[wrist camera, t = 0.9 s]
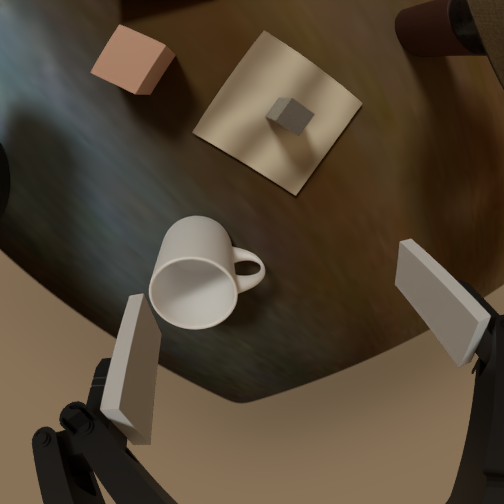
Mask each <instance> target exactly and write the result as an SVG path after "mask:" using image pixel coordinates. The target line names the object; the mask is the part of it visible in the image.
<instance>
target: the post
mask: <svg viewBox="0 0 504 504" xmlns="http://www.w3.org/2000/svg"><path fill="white" fill-rule="evenodd" d="M314 115H315V114H314V113H313V112H311V111H310V110H308V109H307V108H306V107H304V106H303V105H302V104H300V103H299V102H297V101H296V100H295V99H293V98H278V99H277V100H276V102H275V103H274V105H273V106H272V107H271V109H270V110H269V112H268V113H267V114H266V116H265V117H267V118H268V119H270V120H271V121H273V122H274V123H276V124H277V125H279V126H280V127H282V128H283V129H285V130H287V131H289V132H291V133H293V134H295V135H297V136H300V134H301V133H302V132H303V130H304V129H305V128H306V126H307V125H308V123H309V122H310V121H311V119H312V118H313V116H314Z"/></svg>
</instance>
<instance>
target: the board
mask: <svg viewBox="0 0 504 504" xmlns="http://www.w3.org/2000/svg"><path fill="white" fill-rule="evenodd" d="M278 98H293V99H295V100H296V101H297V102H299V103H300V104H302V105H303V106H304V107H306V108H307V109H308V110H310V111H311V112H313V113H314V114H315V115H314V116H313V118H312V119H311V121H310V122H309V123H308V125H307V126H306V128H305V129H304V130H303V132H302V133H301V134H300V136H297V135H295V134H293V133H291V132H289V131H287V130H285V129H283V128H282V127H280V126H279V125H277V124H276V123H274V122H273V121H271V120H270V119H268V118H267V117H265V116H266V114H267V113H268V112H269V110H270V109H271V107H272V106H273V105H274V103H275V102H276V100H277V99H278ZM361 105H362V102H361V101H359V100H358V99H357V98H356V97H355V96H354V95H352V94H351V93H350V92H349V91H348V90H346V89H345V88H344V87H343V86H342V85H340V84H339V83H338V82H337V81H335V80H334V79H333V78H331V77H330V76H329V75H328V74H326V73H325V72H324V71H322V70H321V69H320V68H318V67H317V66H316V65H314V64H313V63H312V62H310V61H309V60H308V59H306V58H305V57H303V56H302V55H301V54H299V53H298V52H296V51H295V50H293V49H292V48H290V47H289V46H287V45H286V44H284V43H283V42H281V41H280V40H278V39H277V38H275V37H274V36H272V35H270V34H269V33H267V32H266V31H263V32H262V34H261V35H260V36H259V38H258V39H257V40H256V41H255V43H254V44H253V45H252V47H251V48H250V49H249V51H248V52H247V53H246V55H245V56H244V57H243V59H242V60H241V61H240V63H239V64H238V65H237V67H236V68H235V70H234V71H233V72H232V74H231V75H230V77H229V78H228V79H227V81H226V82H225V84H224V85H223V87H222V88H221V89H220V91H219V92H218V94H217V95H216V97H215V98H214V100H213V101H212V103H211V104H210V106H209V107H208V109H207V110H206V112H205V113H204V115H203V117H202V118H201V120H200V121H199V123H198V124H197V126H196V128H195V129H194V131H193V132H192V133H194V134H195V135H197V136H199V137H201V138H202V139H204V140H206V141H208V142H209V143H211V144H213V145H215V146H216V147H218V148H220V149H221V150H223V151H225V152H226V153H228V154H230V155H231V156H233V157H235V158H236V159H238V160H240V161H241V162H243V163H245V164H246V165H248V166H250V167H251V168H253V169H254V170H256V171H258V172H259V173H261V174H262V175H264V176H266V177H267V178H269V179H270V180H272V181H273V182H275V183H277V184H278V185H280V186H281V187H283V188H284V189H286V190H287V191H289V192H291V193H292V194H294V195H295V196H296V195H297V193H298V192H299V190H300V189H301V188H302V186H303V185H304V184H305V182H306V181H307V179H308V178H309V177H310V175H311V174H312V173H313V171H314V170H315V168H316V167H317V166H318V164H319V163H320V161H321V160H322V159H323V157H324V156H325V155H326V153H327V152H328V150H329V149H330V148H331V146H332V145H333V144H334V142H335V141H336V139H337V138H338V137H339V135H340V134H341V132H342V131H343V130H344V128H345V127H346V126H347V124H348V123H349V121H350V120H351V119H352V117H353V116H354V114H355V113H356V112H357V110H358V109H359V108H360V106H361Z"/></svg>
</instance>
